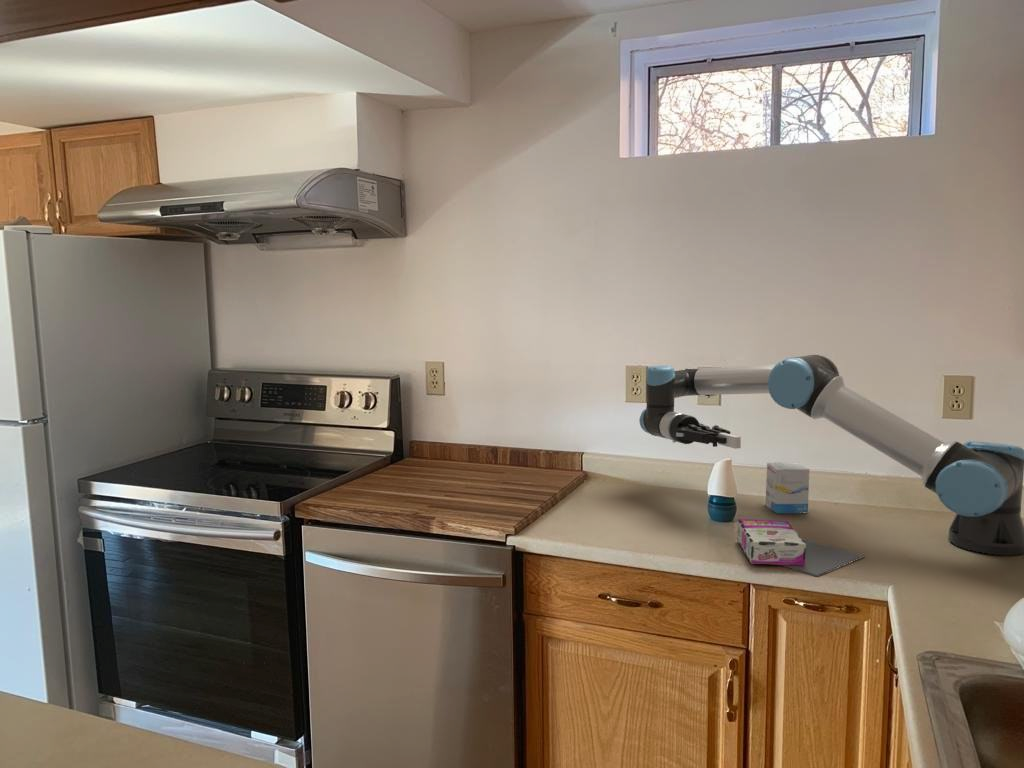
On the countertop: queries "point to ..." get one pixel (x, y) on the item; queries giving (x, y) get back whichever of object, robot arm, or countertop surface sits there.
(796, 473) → the ink box
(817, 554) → the mat
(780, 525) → the candy bar box
